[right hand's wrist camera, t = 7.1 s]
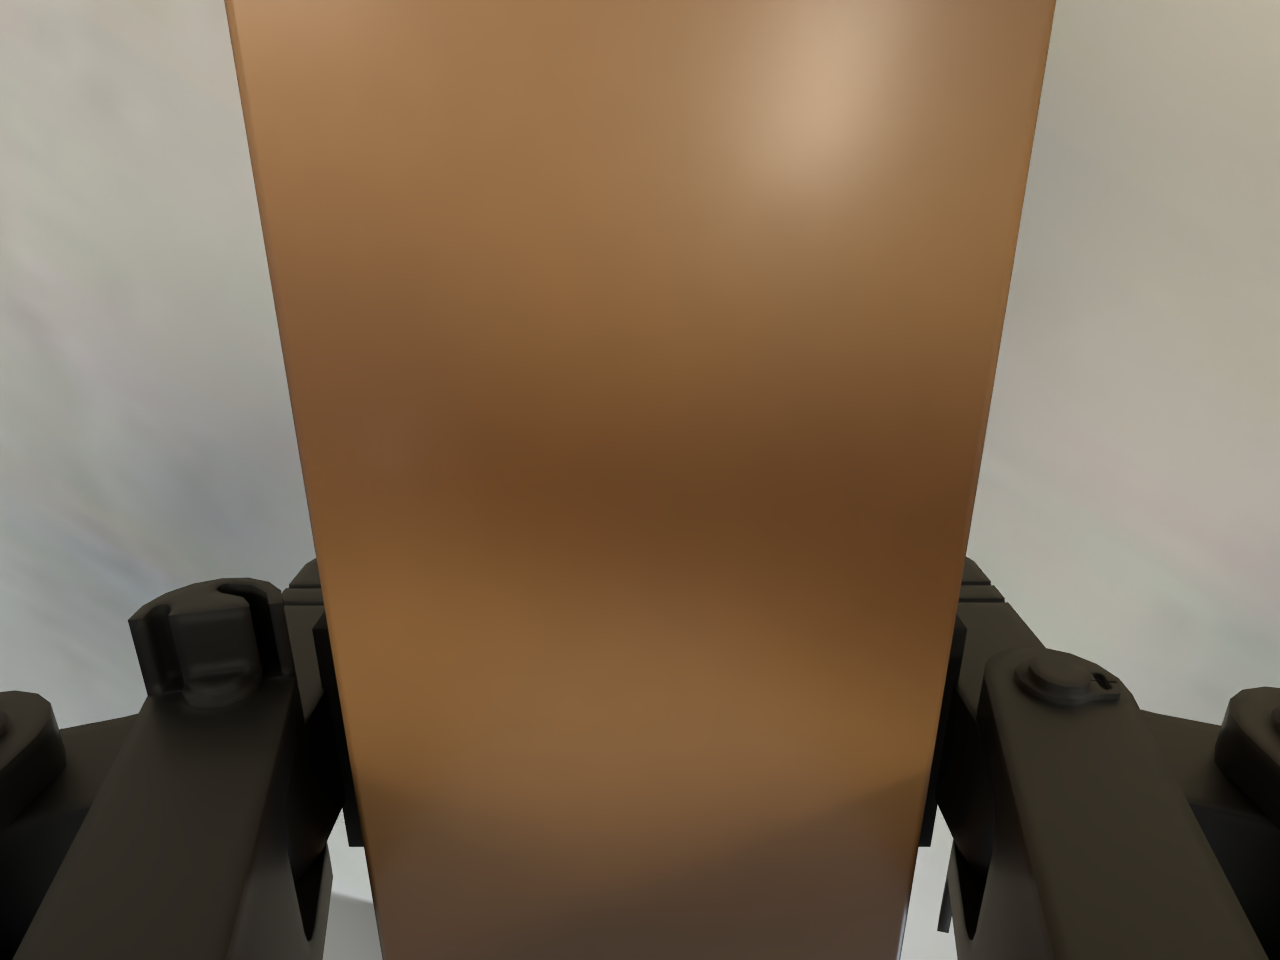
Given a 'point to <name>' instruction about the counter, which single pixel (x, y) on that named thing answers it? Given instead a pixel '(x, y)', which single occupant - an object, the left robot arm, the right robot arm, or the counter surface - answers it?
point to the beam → (640, 442)
